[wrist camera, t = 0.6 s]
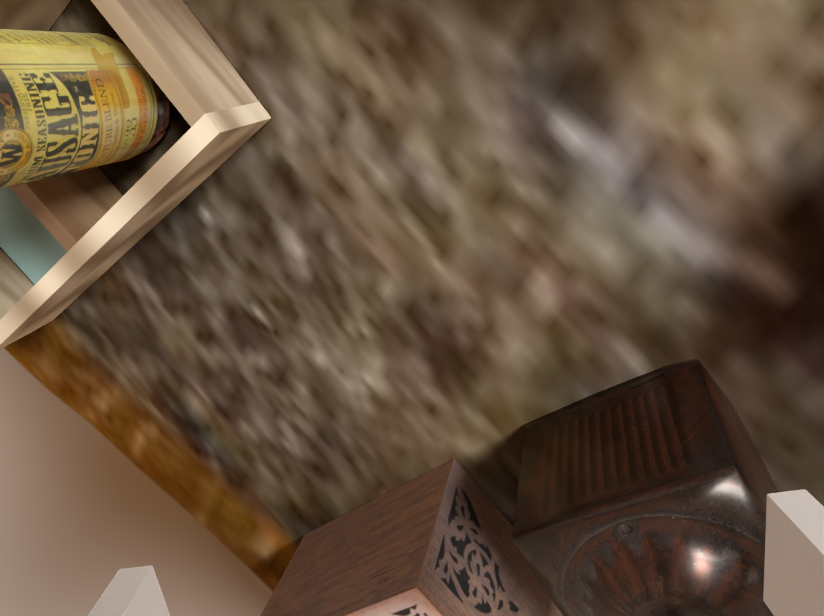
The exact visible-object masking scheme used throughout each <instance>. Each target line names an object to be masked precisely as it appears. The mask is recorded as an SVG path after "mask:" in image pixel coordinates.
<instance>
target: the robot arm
mask: <svg viewBox="0 0 824 616" xmlns="http://www.w3.org/2000/svg"><path fill="white" fill-rule="evenodd" d="M763 601H764V602H765V604H766V605H767V606H768V608H769V609H770V611H771V612H772V614H773V615H774V616H824V507H823V506H822V505H821V504H820V503H819V502H818V501H817V500H816V499H815V498H814V497H813V496H812V495H811V494H810V493H809V492H808V491H807V490H806V489H804V490H796V491H787V492H779V493H770V494H767V506H766V536H765V566H764V595H763ZM87 616H170V614H169V611H168V608H167V605H166V602H165V599H164V596H163V594H162V591H161V588H160V585H159V582H158V579H157V577H156V574H155V571H154V568H153V566H152V565H150V566H142V567H133V568H124V569H119V570H118V572H117V573H116V575H115V576H114V578H113V579H112V580H111V582H110V583H109V585H108V586H107V588H106V589H105V591H104V592H103V594H102V595H101V596H100V598H99V599H98V601H97V602H96V604H95V605H94V607H93V608H92V610H91V611H90V613H89V614H88V615H87Z"/></svg>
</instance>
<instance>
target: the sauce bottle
mask: <svg viewBox="0 0 824 616" xmlns="http://www.w3.org/2000/svg"><path fill="white" fill-rule="evenodd" d="M169 117H170V104H169V98H168V97H167V96H166V95H165V93H164V92H163V91H162V90H161V88H160V87H159V86H158V85H157V83H156V82H155V81H154V79H153V78H152V77H151V76H150V74H149V73H148V72H147V71H146V69H145V68H144V67H143V66H142V64H141V63H140V62H139V61H138V59H137V58H136V57H135V55H134V54H133V53H132V52H131V50H130V49H129V48H128V47H127V45H126V44H125V43H124V42H123V41H122V40H120V39H116V38H114V39H113V38H111V37H109V36H105V35H102V34H99V33H76V32H54V31H33V30H13V29H0V188H4V187H8V186H14V185H20V184H24V183H28V182H32V181H35V180H39V179H45V178H51V177H56V176H60V175H64V174H67V173H71V172H75V171H79V170H84V169H88V168H93V167H97V166H101V165H105V164H109V163H114V162H119V161H124V160H128V159H130V158H132V157H134V156H136V155H138V154H141V153H144V152H146V151H148V150H149V149H151V148H152V147H153V146H154V145H155V144H156V143H158V141H159V140H160V139H161V138H162V137H163V136H164V135H165V133H166V128H167V127H168V125H169Z"/></svg>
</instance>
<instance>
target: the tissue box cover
mask: <svg viewBox="0 0 824 616" xmlns="http://www.w3.org/2000/svg"><path fill="white" fill-rule="evenodd" d="M512 531H513V526H512V524H511V523H510V522H509V521H508V520H507V519H506V518H505V516H504V515H503V514H502V513H501V512H500V511H499V510H498V508H497V507H496V506H495V505H494V504H493V503H492V501H491V500H490V499H489V498H488V497H487V496H486V495H485V493H484V492H483V491H482V490H481V489H480V488H479V487H478V485H477V484H476V483H475V482H474V481H473V480H472V478H471V477H470V476H469V475H468V474H467V473H466V472H465V470H464V469H463V468H462V467H461V466H460V465H459V464H458V462H457V461H456V460H455V459H452V460H450V461H448V462H446V463H444V464H442V465H440V466H438V467H437V468H435V469H433V470H431V471H429V472H427V473H425V474H423V475H421V476H419V477H417V478H415V479H413V480H411V481H409V482H407V483H405V484H403V485H401V486H399V487H397V488H395V489H393V490H391V491H389V492H387V493H385V494H383V495H381V496H379V497H378V498H376V499H374V500H372V501H370V502H368V503H366V504H364V505H362V506H360V507H358V508H356V509H354V510H352V511H350V512H348V513H346V514H344V515H342V516H340V517H338V518H336V519H334V520H332V521H330V522H328V523H326V524H324V525H322V526H320V527H319V528H317V529H315V530H313V531H311V532H309V533H307V534H305V535H304V537H303V539H302V541H301V542H300V544H299V546H298V548H297V550H296V552H295V553H294V555H293V557H292V559H291V561H290V563H289V564H288V566H287V568H286V570H285V572H284V574H283V575H282V577H281V579H280V581H279V583H278V585H277V586H276V588H275V590H274V592H273V594H272V596H271V598H270V599H269V601H268V603H267V605H266V607H265V609H264V611H263V612H262V614H261V616H563V615H562V613H561V612H560V610H559V609H558V607H557V606H556V605H555V603H554V602H553V600H552V599H551V598H550V596H549V595H548V593H547V592H546V591H545V589H544V588H543V587H542V585H541V584H540V582H539V581H538V580H537V578H536V577H535V576H534V574H533V573H532V571H531V570H530V568H529V567H528V565H527V563H526V562H525V560H524V559H523V557H522V556H521V554H520V552H519V551H518V549H517V548H516V546H515V545H514V543H513V538H512Z"/></svg>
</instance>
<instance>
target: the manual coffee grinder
mask: <svg viewBox="0 0 824 616" xmlns="http://www.w3.org/2000/svg"><path fill="white" fill-rule="evenodd" d="M524 429H525V437H524V445H523V453H522V460H521V468H520V475H519V483H518V491H517V500H516V508H515V517H514V525H513V531H512V538H513V543H514V545H515V546H516V548H517V549H518V551H519V552H520V554H521V556H522V557H523V559H524V560H525V562H526V563H527V565H528V567H529V568H530V570H531V571H532V573H533V574H534V576H535V577H536V578H537V580H538V581H539V582H540V584H541V585H542V587H543V588H544V589H545V591H546V592H547V593H548V595H549V596H550V598H551V599H552V600H553V602H554V603H555V605H556V606H557V607H558V609H559V610H560V612H561V613H562V615H563V616H774V615H773V614H772V612H771V611H770V609H769V608H768V606H767V605H766V604H765V602H764V601H763V595H764V566H765V536H766V506H767V494H770V493H778V492H777V490H776V488H775V485H774V483H773V481H772V479H771V477H770V474H769V472H768V470H767V468H766V466H765V464H764V462H763V460H762V458H761V456H760V454H759V453H758V451H757V449H756V447H755V445H754V443H753V441H752V439H751V438H750V436H749V434H748V432H747V430H746V428H745V427H744V425H743V423H742V422H741V420H740V418H739V416H738V415H737V413H736V411H735V410H734V408H733V406H732V404H731V403H730V401H729V400H728V398H727V397H726V395H725V394H724V393H723V392H722V390H721V389H720V388H719V387H718V385H717V384H716V383H715V381H714V380H713V379H712V377H711V376H710V375H709V373H708V372H707V371H706V369H705V368H704V367H703V365H702V364H701V363H700V361H698V360H692V361H687V362H683V363H678V364H674V365H670V366H665V367H663V368H660V369H657V370H655V371H652V372H649V373H647V374H644V375H641V376H639V377H636V378H633V379H631V380H628V381H626V382H623V383H621V384H618V385H616V386H613V387H611V388H608V389H606V390H603V391H601V392H598V393H596V394H593V395H591V396H588V397H586V398H584V399H582V400H579V401H577V402H575V403H573V404H570V405H568V406H566V407H564V408H561V409H559V410H557V411H555V412H552V413H550V414H548V415H546V416H544V417H541V418H539V419H537V420H535V421H532V422H530V423H528V424H526V426H525V428H524Z"/></svg>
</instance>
